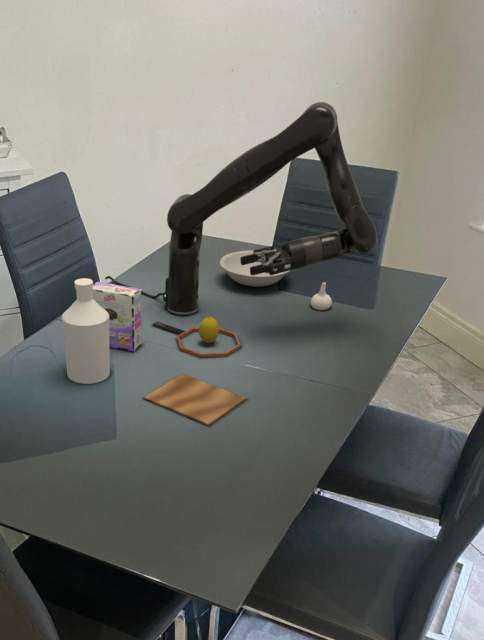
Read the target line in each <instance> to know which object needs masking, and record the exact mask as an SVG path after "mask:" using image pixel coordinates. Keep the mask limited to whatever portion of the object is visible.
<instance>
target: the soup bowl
mask: <svg viewBox="0 0 484 640" xmlns="http://www.w3.org/2000/svg"><path fill="white" fill-rule="evenodd" d="M253 250H254V249H252V250H240V251H239V250H238V251H234V252H230V253H227V254H226V255H224V256H222V257H221V258H220V260H219V266H220V267H221V268H222V269H223V270H224V271H225V273H226V274H227V275H228V276H229V277H230V279H232V280H233V281H234V282H235V283H238V284H240V285H242V286H248V287H253V288H254V287H255V288H259V287H266V286H270V285H274V284H275V283H277V282H279V281H280V280H282V279H283V278H284V276H285V275H286V274H288V273H290V272H291V271H292V270H289V271H286V272H282V273H278V274H274V275H269V273H267V274H266V273H265V272H264V273H261V274H257V275H251V274H250V267H252V266H256V265H260V264H262V263H261V262H254V263H251V264H246V265H241V261H240V258H241V257H242V256H247V255H251V254H253ZM258 256H260V255H258ZM275 271H276V270H275Z"/></svg>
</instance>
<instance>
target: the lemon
mask: <svg viewBox="0 0 484 640" xmlns="http://www.w3.org/2000/svg"><path fill="white" fill-rule="evenodd" d="M198 328H199V331H198V334H199V337H200V340H202V341H203V342H205V343H206V344H211V343H213V342H214V341H216V340H217V338H218V336H219V333H220V332H219V328H220V326H219V322H218V321H217V320H216V319H215V318H214V317H212V316H208V317H205V318H203V319H202V321H201V322H200V324H199V327H198Z"/></svg>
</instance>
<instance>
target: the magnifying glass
mask: <svg viewBox="0 0 484 640" xmlns="http://www.w3.org/2000/svg"><path fill="white" fill-rule="evenodd" d="M152 327H155V328H157V329H161V330H164V331H167V332H169V333H172V334H175V335H177V336H176V341H177V345H178V348H179V351H181V352H184V353H187V354H188V355H189V354H190V355H192V356H194V357H197V358H220V357H221V358H224V357H228V356H230V355H231V354H232V353H234V352H236V351H237V350H239V349H241V345H242V344H241V342H240V339H239V337H238V335H237V333H235V332H232V331H229V330H227V329H223V328H221V327H219V333H220V334H224V335H227V336H229V337H232V338H233V339H234V341H235V342H236V345H234V346H233V347H231V348H230V349H229V350H226V351H225V352H224V351H223V352H205V353H204V352H203V353H201V352H198V351H195V350H193V349H190V348H188V347H184V346H183V345H182V341H181V340H182V338H184V337H186V336H188V335H190V334H191V333H195V332H197V333H199V328H200V327H190V328H189V329H187V330H183V329H181V328H178V327H175V326H172V325H169V324H166V323H163V322H161V321H154V322H153V323H152Z"/></svg>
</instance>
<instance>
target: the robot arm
mask: <svg viewBox="0 0 484 640" xmlns="http://www.w3.org/2000/svg"><path fill="white" fill-rule="evenodd" d="M341 139H342V138H341V134H340V129H339V123H338V114H337V111H336V109H335V108H334V106H333V105H331V104H329V103H328V102H325V101H317V102H315V103H312V104H310V106H308V107H307V108H306V109H305V110H304V111H303V113H302V114H301V115H300V116H298V118H297V119H295V120H294V121H293V122H292V123H290V125H288V126H287V127H286V128H285V129H283V130H282V131H281V132H280V133H278V134H276V135H275V136H273V137H271V138H268V139H267V140H264V141H261V142H260V143H259V144H257V145H255V146H253V147H251V148H249V149H248V150H246V151H245V152H244V153H242V154H241V155H239V156H238V157H236V158H235V159H234V160H232V161H231V162H229V163H228V164H227V165H226V166H224V167H223V168H222V169H221V170H220V171H219V172H218V173H217V174H216V175H214V177H213V178H212V179H211V180H210V181H209V182H207V184H205V186H203V187H202V188H200V189H198V190H197V191H196V192H194V193H193V194H189V193H187V194H186V193H184V194H182V195H180V196H179V197H177V198H176V199H175V200H174V201H173V203H172V204H171V206H170V207H169V209H168V212H167V216H166V223H167V226H168V229H169V230H170V231H171V234H170V240H169V243H168V273H167V274H168V276H167V277H166V278H165V286H164V287H165V288H164V289H165V290H164V292H159V293H157V294H156V295H151V294H148V293H146V292H145V291H142V290H141V295H143V296H145V297H148V298H151V299H158V298H159V297H160V296H162V301H164V309H166V310H167V311H168V313H170V314H173V315H177V316H190V315H193V314H195V313H197V312H198V311H199V307H198V304H199V283H200V259H201V256H200V255H201V247H202V241H203V229H204V222H205V221H206V220H208V219H209V218H210V217H211V216H213V215H214V214H215V213H217V212H219V211H220V210H221V209H223V208H225V207H227V206H229V205H231V204H232V203H234V202H236V201H238V200H239V199H241V198H243V197H244V196H246V195H248V194H249V193H251V192H252V191H254V190H255V189H257V188H258V187H260V186H262V185H263V184H264V183H266V182H267V181H268V180H270V179H271V178H272V177H273V176H275V175H276V174H277V173H278V172H279V171H281V170H282V169H283V168H284V167H286V166H287V165H288V164H289V163H290V162H292V161H294V160H296V159H297V158H298V157H300V156H302V155H304V154H305V153H307V152H309V151H312V150H315V152H316V154H317V156H318V158H319V161H320V165H321V167H322V170H323V174H324V179H325V183H326V187H327V191H328V194H329V198H330V201H331V203H332V206H333V209H334V212H335V214H336V217H337V219H338V220H339V222H341V223H342V224H343V225H344V226H345V227H344V228H341V229H338V230H335V231H332V232H326V233H322V234H317V235H311V236H309V235H308V236H304V237H301V238H296V239H292V240H287V241H284V242H283V244H282V247H281V248H280V249H276V248H275V246H274V245H270V246H266V247H261V248H257V249H252V250H253V254H251V255H247V256H242V257H241V258H240V261H241V265H246V264H251V263H254V262H261V263H262V264H260V265H256V266H252V267H250V274H251V275H257V274H261V273H264V272H265V273H266V274H267V273H269V275H274V274H278V273H282V272H286V271H289V270H291V271H293V270H298V269H302V268H307V267H311V266H314V265H317V264H319V263H323V262H327V261H332V260H335V259H337V258H339V257H340V256H343V255H347V254H352V253H356V254H357V253H358V254H367V253H370V252H371V251H373V250H374V249H375V247H376V246H377V243H378V233H377V229H376V227H375V224H374V223H373V220H372V219H371V217H370V215H369V214H368V212H367V211H366V209H365V207H364V205H363V201H362V198H361V195H360V193H359V190H358V187H357V185H356V182H355V179H354V177H353V174H352V172H351V168H350V166H349V163H348V161H347V158H346V155H345V151H344V148H343V144H342V140H341ZM258 255H260V256H258ZM275 270H276V271H275ZM108 279H109V280H111V281H112V283H113V284H115V285H120V286H126V287H132V288H134V287H133V286H130V285H126V284H125V283H121V282H118V281H117V280H115V279H114V278H113V277H112V276H109V275H107V276H105V278H104V280H108ZM114 280H115V281H114Z"/></svg>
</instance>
